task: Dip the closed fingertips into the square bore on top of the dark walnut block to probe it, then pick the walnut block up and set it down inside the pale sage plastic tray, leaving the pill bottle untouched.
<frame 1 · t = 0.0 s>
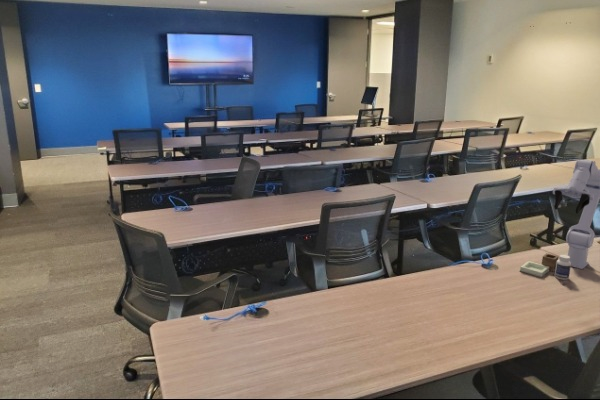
hand: (565, 209, 181), 32 cm above the table, tool tilted 50°, fingers open, 7 cm apart
pill bottle: (561, 277, 196), on the table
tray: (534, 271, 202), on the table
walnut block: (548, 268, 204), on the table
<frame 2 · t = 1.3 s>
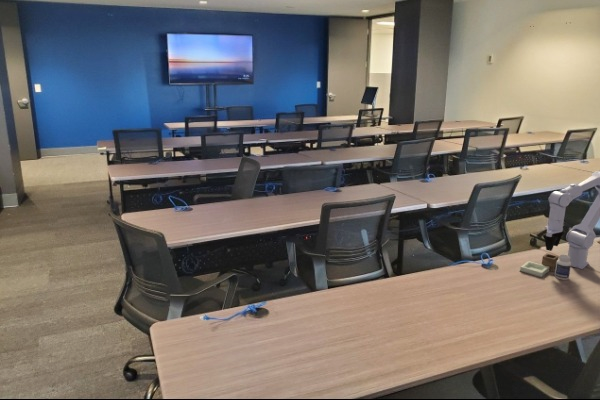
hand: (551, 247, 202), 10 cm above the table, tool pointing down, fingers open, 7 cm apart
nothing on the table moved.
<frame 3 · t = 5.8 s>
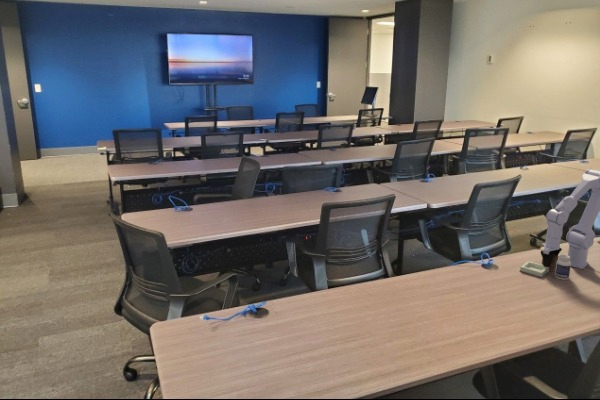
hand: (549, 264, 203), 2 cm above the table, tool pointing down, fingers open, 6 cm apart
nothing on the table moved.
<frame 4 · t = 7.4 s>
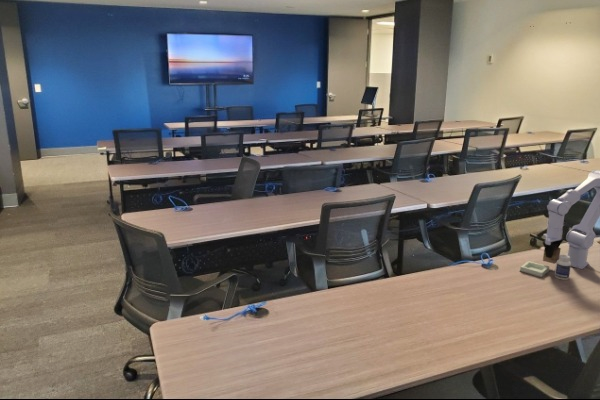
hand: (551, 255, 203), 6 cm above the table, tool pointing down, fingers closed on walnut block, 5 cm apart
walnut block: (550, 260, 203), point 4 cm above the table, touching gripper
everything else where it was.
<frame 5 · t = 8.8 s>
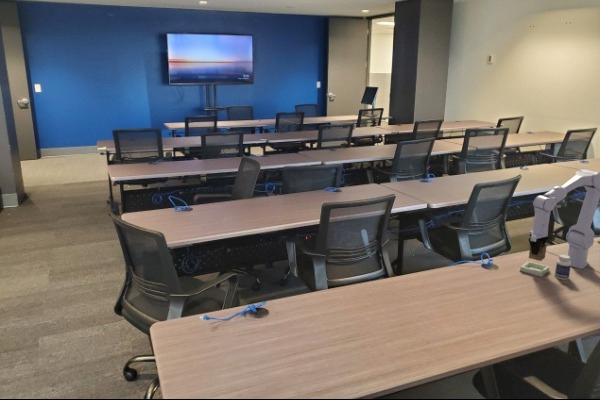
hand: (537, 252, 199), 9 cm above the table, tool pointing down, fingers closed on walnut block, 5 cm apart
walnut block: (536, 257, 200), point 6 cm above the table, touching gripper
everything else where it was.
when the fingers open (3 cm above the table, at t = 10.4 s): walnut block stays where it is, resting on tray.
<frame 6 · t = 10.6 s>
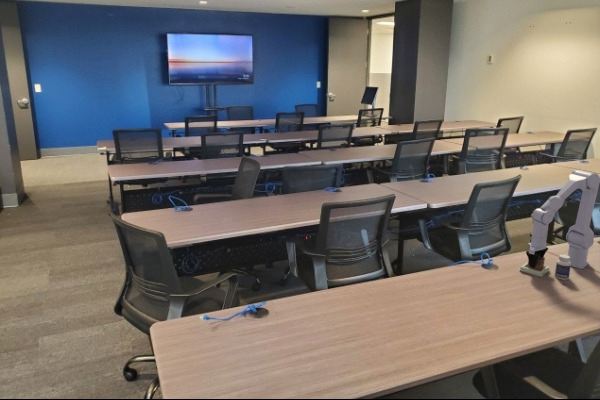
hand: (535, 264, 201), 3 cm above the table, tool pointing down, fingers open, 7 cm apart
walnut block: (535, 270, 201), resting on tray
everything else where it was.
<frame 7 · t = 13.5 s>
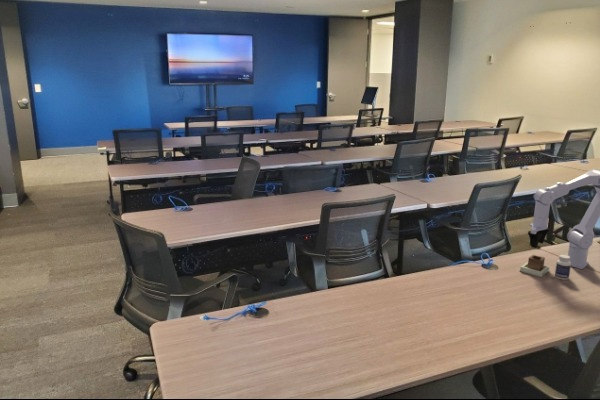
hand: (537, 244, 205), 10 cm above the table, tool pointing down, fingers open, 7 cm apart
nothing on the table moved.
at the end: walnut block 0.2 cm off-centre on the tray, point 0.5 cm above the tray's base; walnut block tilted 0°; the gripper is holding nothing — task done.
